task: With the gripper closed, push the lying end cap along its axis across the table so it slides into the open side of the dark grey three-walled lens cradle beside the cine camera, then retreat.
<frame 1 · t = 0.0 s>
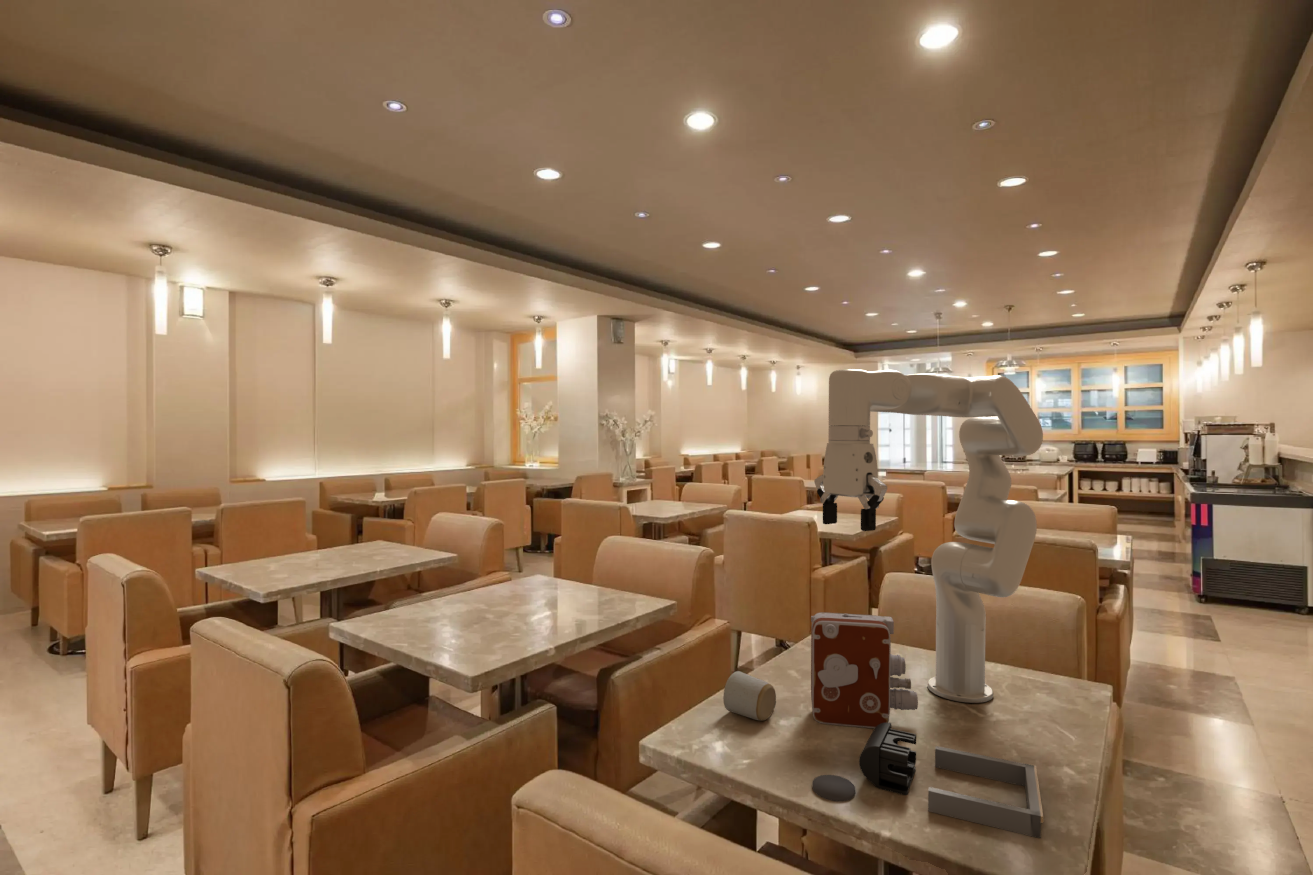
hand: (848, 526, 125), 37 cm above the table, tool pointing down, fingers open, 9 cm apart
lens cradle: (978, 796, 101), on the table
ceramic mug: (752, 713, 130), on the table
lens cap: (833, 791, 102), on the table
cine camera: (862, 722, 127), on the table
end cap: (888, 777, 106), on the table
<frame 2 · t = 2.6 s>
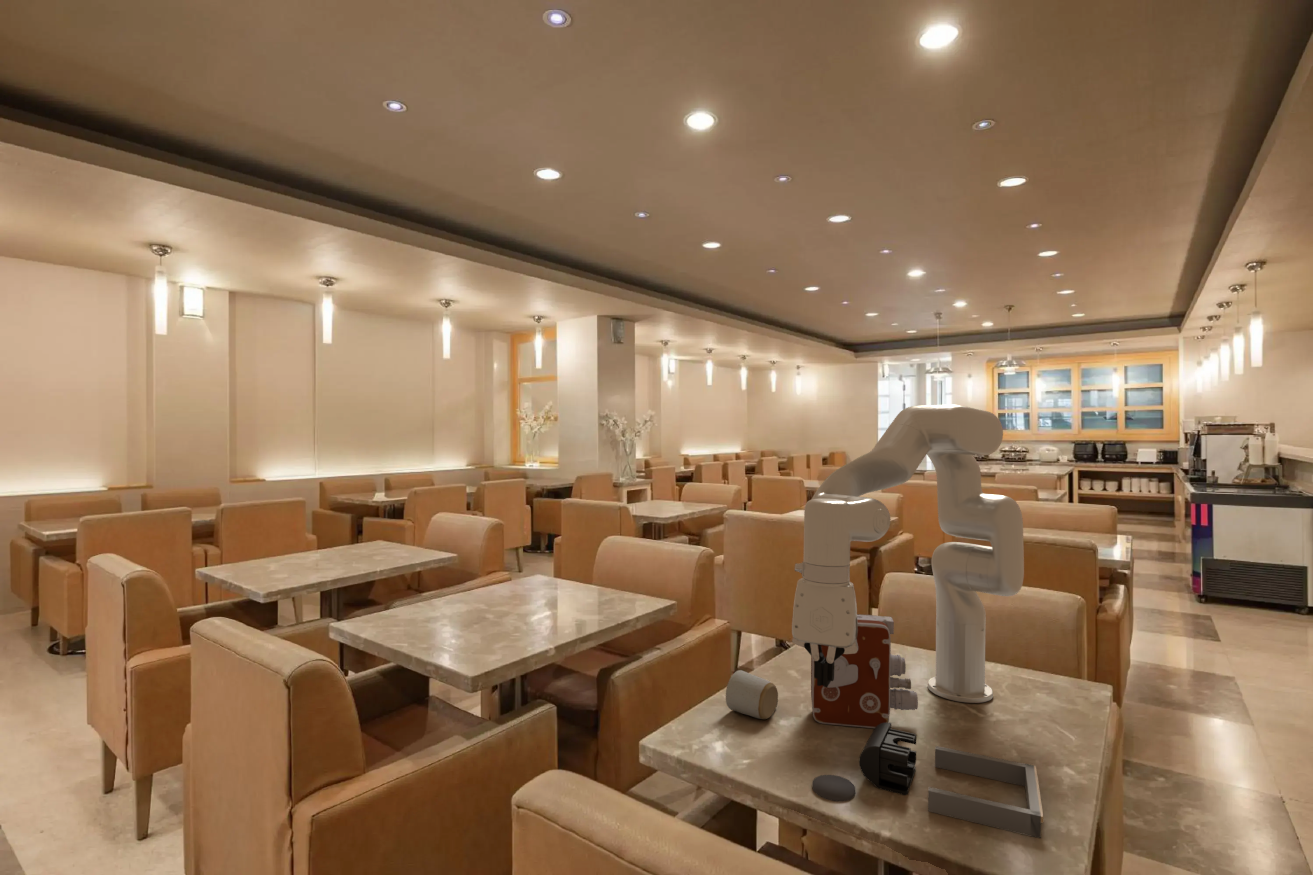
hand: (824, 683, 110), 13 cm above the table, tool pointing down, fingers closed
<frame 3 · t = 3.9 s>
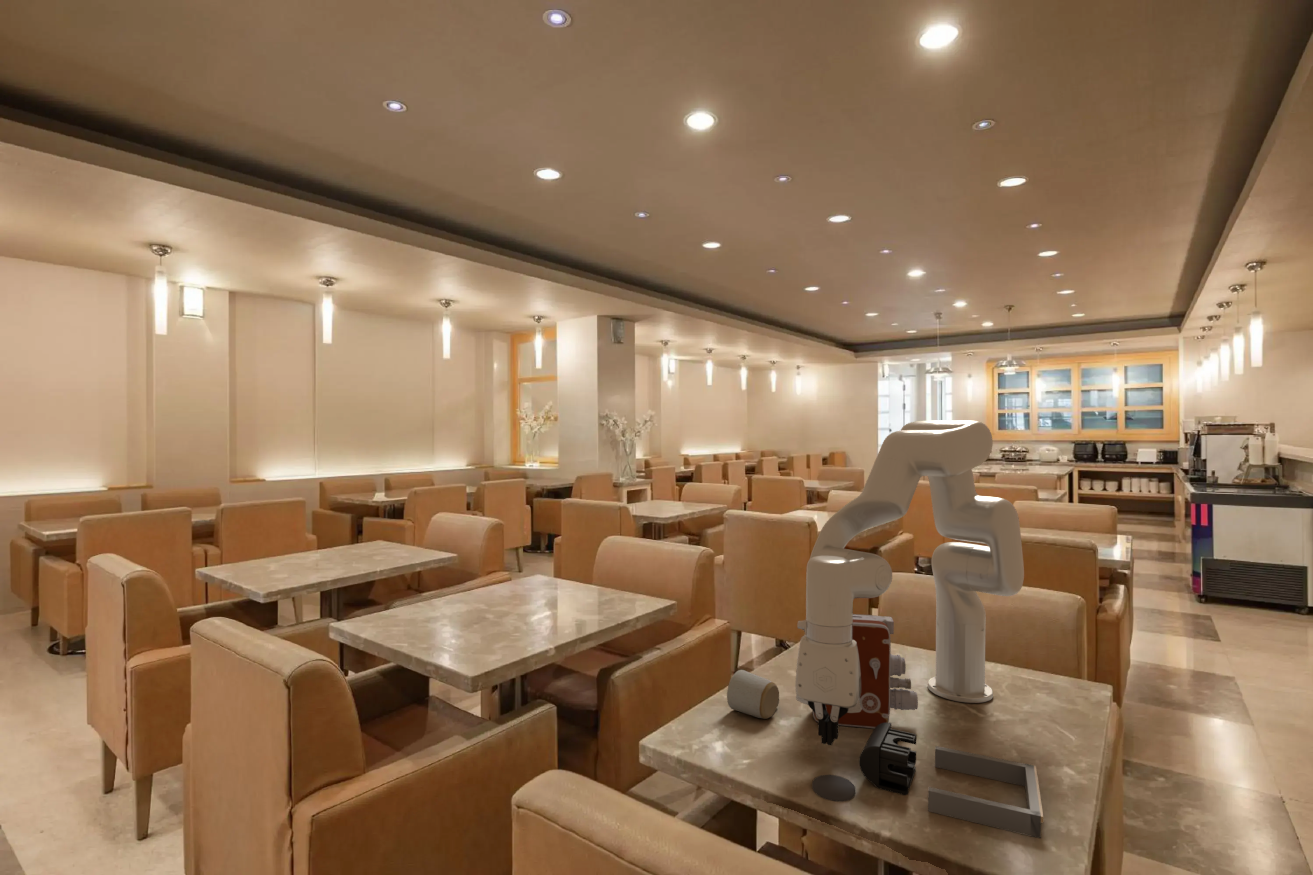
hand: (828, 740, 111), 4 cm above the table, tool pointing down, fingers closed
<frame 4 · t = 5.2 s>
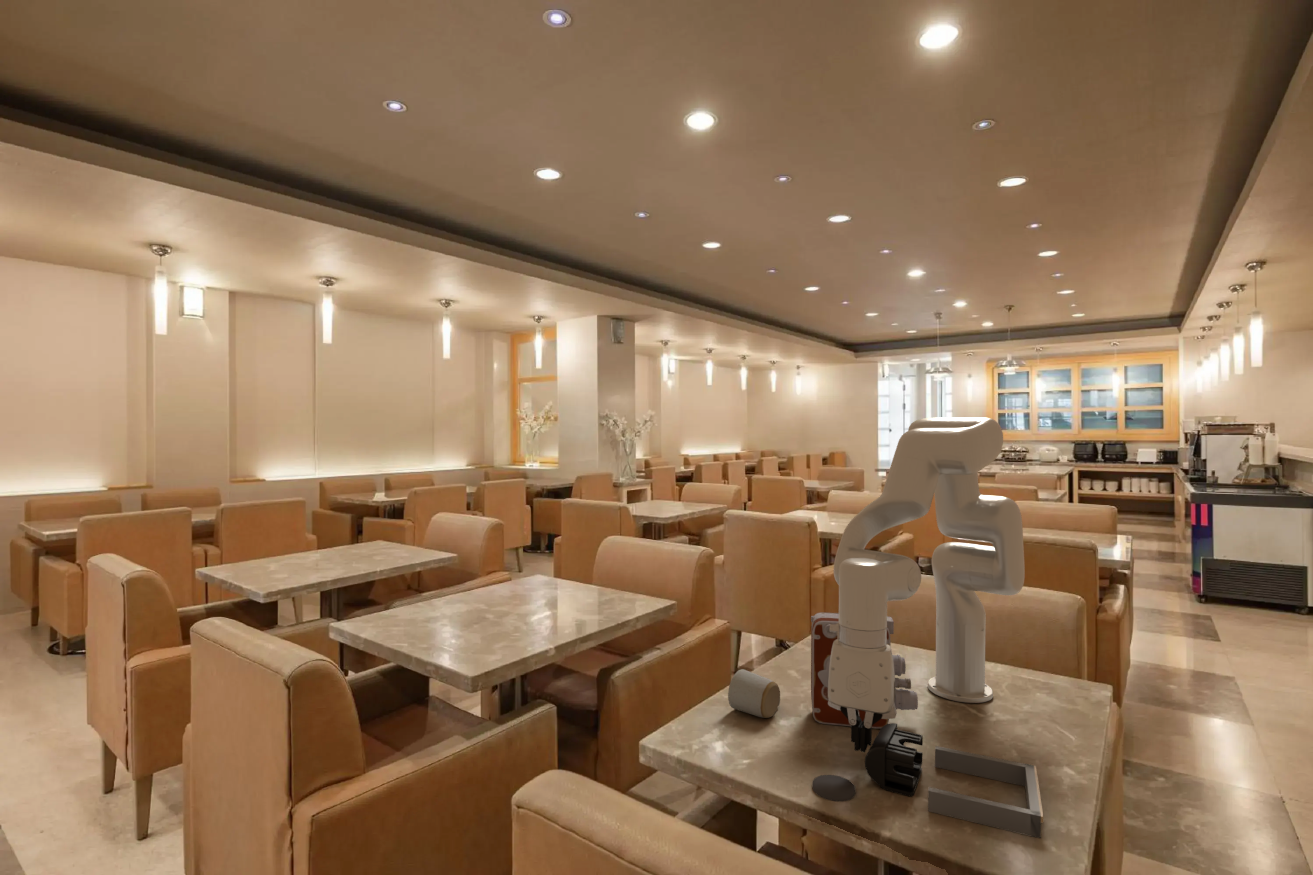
hand: (861, 747, 108), 4 cm above the table, tool pointing down, fingers closed
end cap: (894, 778, 106), on the table, touching gripper
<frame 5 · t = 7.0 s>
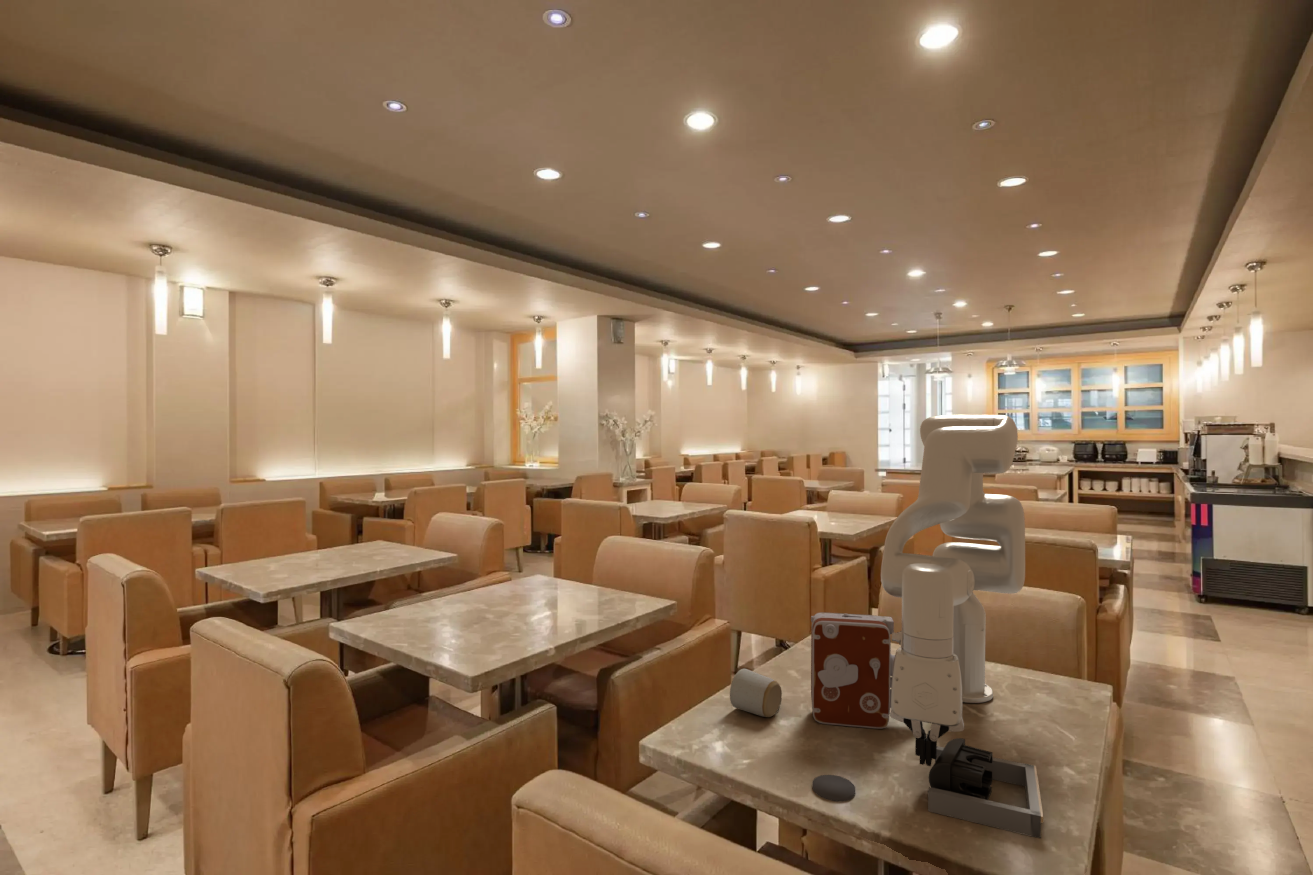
hand: (925, 761, 104), 4 cm above the table, tool pointing down, fingers closed
end cap: (960, 796, 101), on the table, touching gripper
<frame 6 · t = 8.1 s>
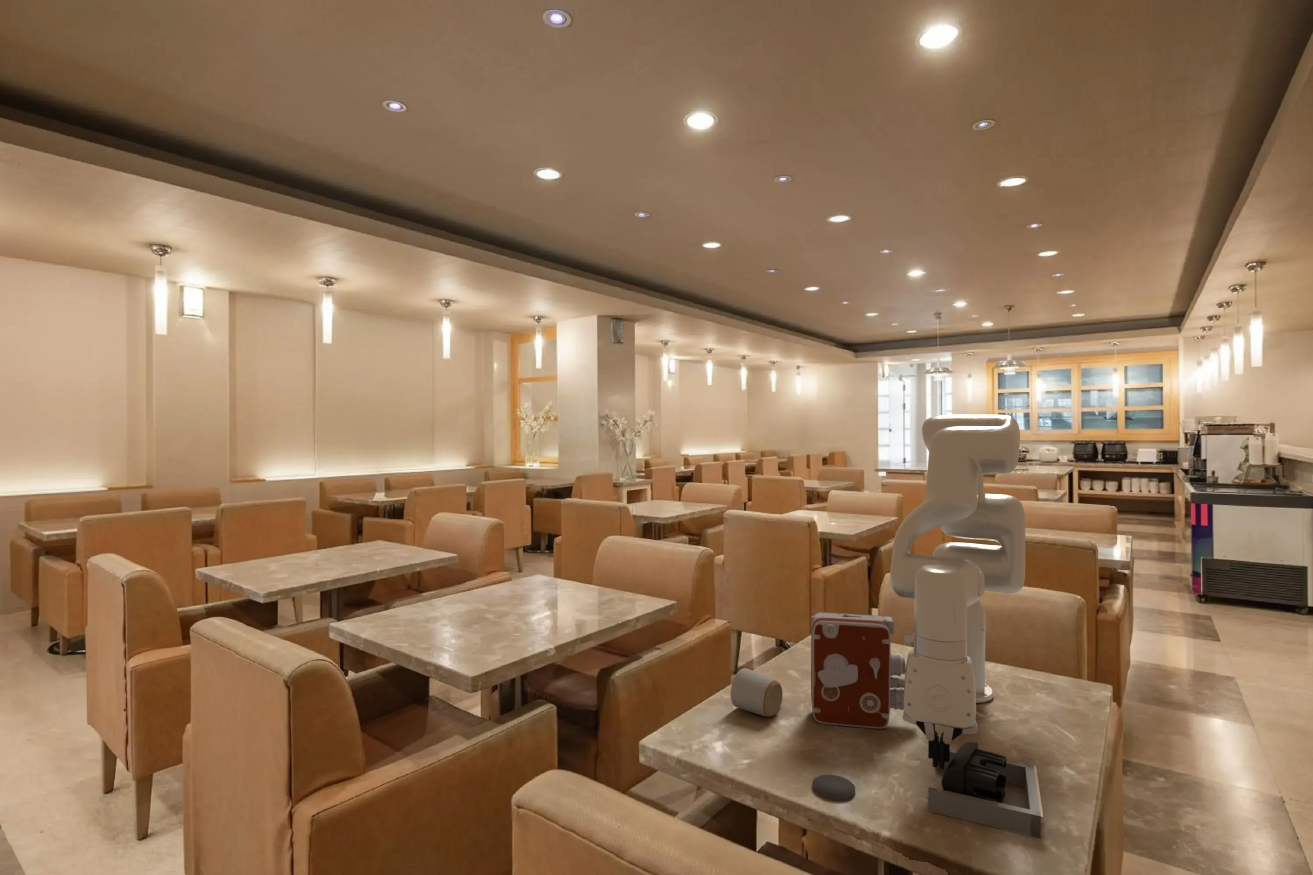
hand: (938, 763, 103), 4 cm above the table, tool pointing down, fingers closed
end cap: (974, 801, 100), on the table, touching gripper
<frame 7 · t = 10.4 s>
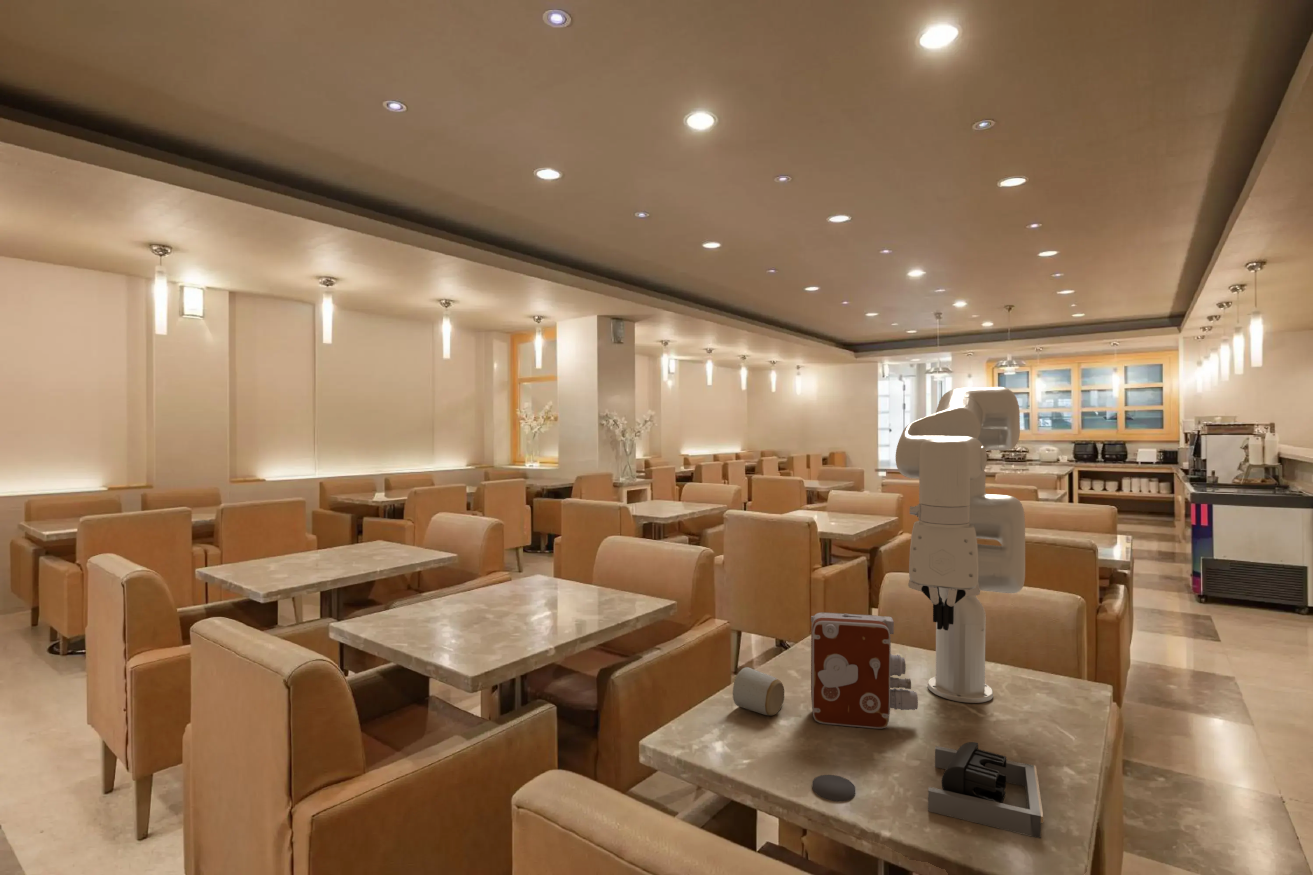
hand: (943, 627, 108), 23 cm above the table, tool pointing down, fingers closed
end cap: (974, 801, 100), on the table
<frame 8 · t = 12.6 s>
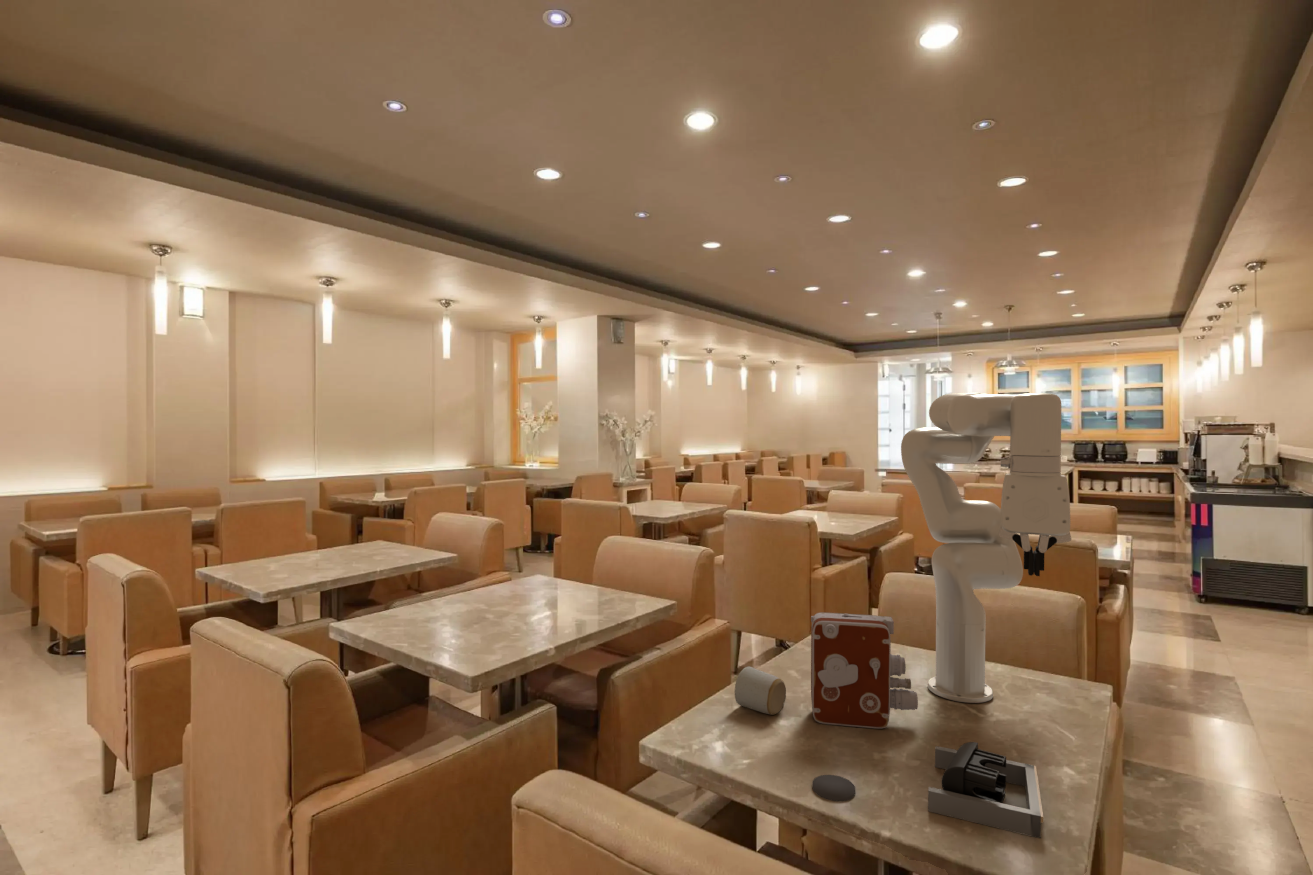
hand: (1033, 574, 113), 31 cm above the table, tool pointing down, fingers closed
at the end: end cap inside the target area on the lens cradle (1.4 cm from its centre), point 0.0 cm above the lens cradle's base; end cap moved 12.5 cm from its start; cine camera moved 0.2 cm from its start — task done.
